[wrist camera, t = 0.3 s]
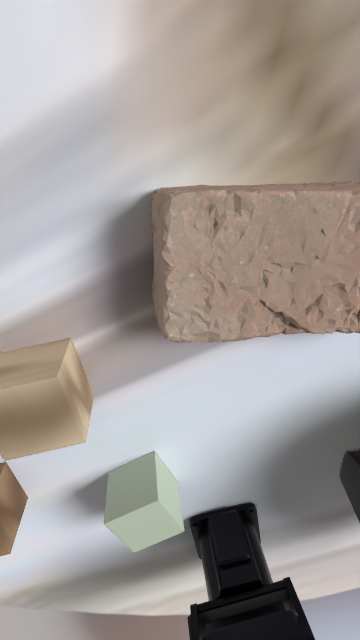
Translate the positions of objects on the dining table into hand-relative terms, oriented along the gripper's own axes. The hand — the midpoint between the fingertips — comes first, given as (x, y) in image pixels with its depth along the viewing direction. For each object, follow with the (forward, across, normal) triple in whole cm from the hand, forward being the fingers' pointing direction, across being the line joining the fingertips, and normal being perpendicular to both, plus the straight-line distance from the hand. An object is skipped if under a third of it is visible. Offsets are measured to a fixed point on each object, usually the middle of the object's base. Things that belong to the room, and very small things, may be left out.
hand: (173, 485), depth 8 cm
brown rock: (+15, -8, -2) cm, 17 cm away
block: (+14, +2, +17) cm, 22 cm away
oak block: (+14, +8, +6) cm, 17 cm away
